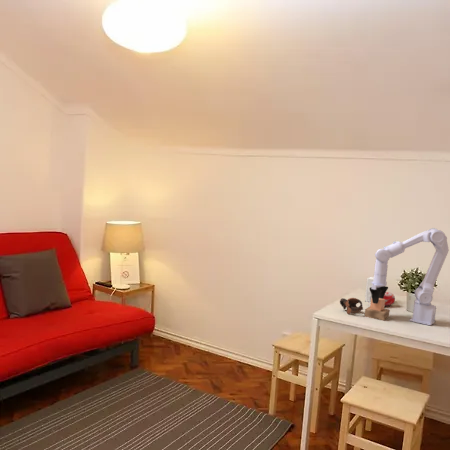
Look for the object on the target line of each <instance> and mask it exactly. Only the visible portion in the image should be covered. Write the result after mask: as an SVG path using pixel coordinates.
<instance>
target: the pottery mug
mask: <svg viewBox="0 0 450 450" xmlns="http://www.w3.org/2000/svg"><path fill="white" fill-rule="evenodd" d="M339 304H340V306H341V307H342V308H343V310H346V314H347V315H350V314H356V313H357V314H358V313H359V312H361V311H363V310H364V307H363V302H362V301H361V299H358V298H356V297H350V298H348V299H347V298H341V299H340V300H339ZM357 304H360V305H359V306H357Z"/></svg>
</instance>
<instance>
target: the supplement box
mask: <svg viewBox="0 0 450 450" xmlns="http://www.w3.org/2000/svg"><path fill="white" fill-rule="evenodd" d="M373 280H374V276H369V277H367V278H366V286H365V287H366V288H365V297H364V298H365V300H364V301H365V302H369V303H371V302H370V296H371V292H370V288H371V287H372V285H373V284H372V283H371V282H373Z"/></svg>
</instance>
